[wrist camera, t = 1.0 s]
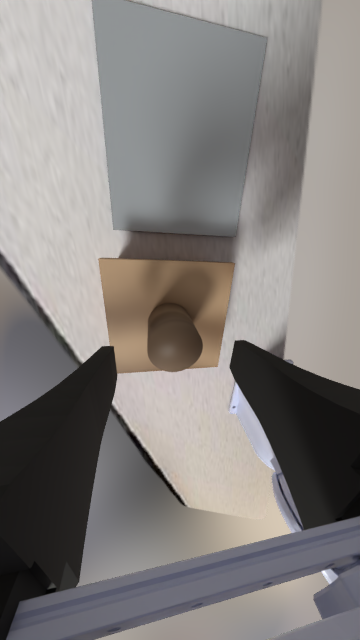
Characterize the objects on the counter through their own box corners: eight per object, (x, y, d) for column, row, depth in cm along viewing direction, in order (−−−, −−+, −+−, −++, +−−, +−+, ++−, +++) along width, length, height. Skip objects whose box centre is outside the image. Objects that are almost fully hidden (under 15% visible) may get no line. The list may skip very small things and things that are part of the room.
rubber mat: (233, 236, 17) (235, 236, 17) (114, 229, 15) (113, 229, 15) (263, 43, 12) (267, 37, 12) (92, -1, 10) (90, -9, 10)
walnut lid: (214, 361, 18) (234, 399, 14) (115, 368, 17) (103, 412, 13) (230, 262, 14) (265, 271, 10) (101, 257, 13) (76, 266, 8)
